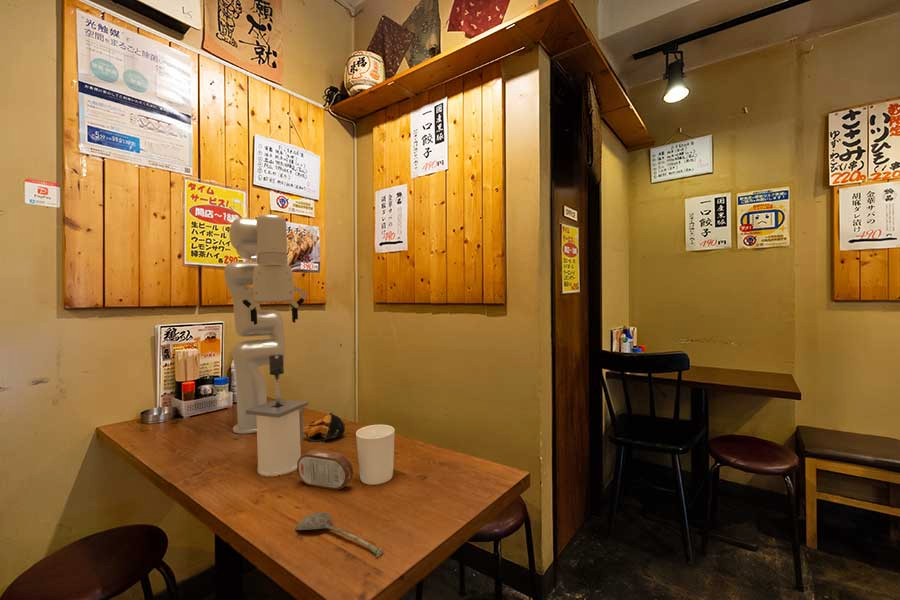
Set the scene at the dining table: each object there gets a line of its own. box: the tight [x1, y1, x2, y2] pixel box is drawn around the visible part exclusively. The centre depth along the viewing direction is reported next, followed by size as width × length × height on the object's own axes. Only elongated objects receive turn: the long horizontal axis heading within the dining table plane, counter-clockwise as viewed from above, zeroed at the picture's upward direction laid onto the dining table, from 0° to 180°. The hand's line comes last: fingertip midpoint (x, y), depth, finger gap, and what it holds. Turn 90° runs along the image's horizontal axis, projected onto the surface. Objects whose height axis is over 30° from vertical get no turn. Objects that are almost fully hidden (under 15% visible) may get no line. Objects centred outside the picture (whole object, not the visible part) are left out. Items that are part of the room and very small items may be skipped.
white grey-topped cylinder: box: [246, 398, 309, 477], centre depth 108 cm, size 14×11×17 cm
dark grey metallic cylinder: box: [268, 354, 285, 408], centre depth 107 cm, size 8×8×17 cm
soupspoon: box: [294, 511, 384, 559], centre depth 75 cm, size 22×3×7 cm
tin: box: [296, 449, 354, 491], centre depth 96 cm, size 15×3×8 cm, turn 71°
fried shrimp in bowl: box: [303, 412, 346, 442], centre depth 126 cm, size 9×11×18 cm
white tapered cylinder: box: [355, 424, 396, 486], centre depth 100 cm, size 10×10×12 cm
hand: (275, 323), depth 106 cm, fingers open, 9 cm apart
